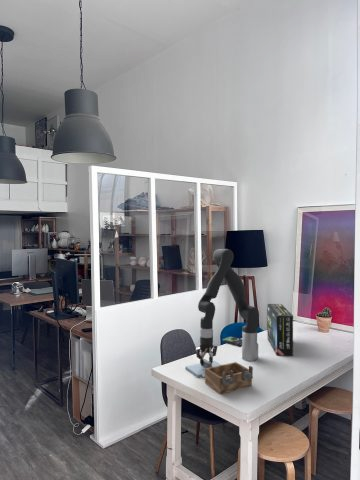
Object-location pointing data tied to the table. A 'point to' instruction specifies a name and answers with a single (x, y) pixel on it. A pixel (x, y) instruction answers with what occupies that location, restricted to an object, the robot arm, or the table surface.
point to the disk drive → (233, 341)
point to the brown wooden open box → (228, 377)
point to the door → (200, 368)
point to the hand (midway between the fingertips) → (206, 364)
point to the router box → (280, 329)
